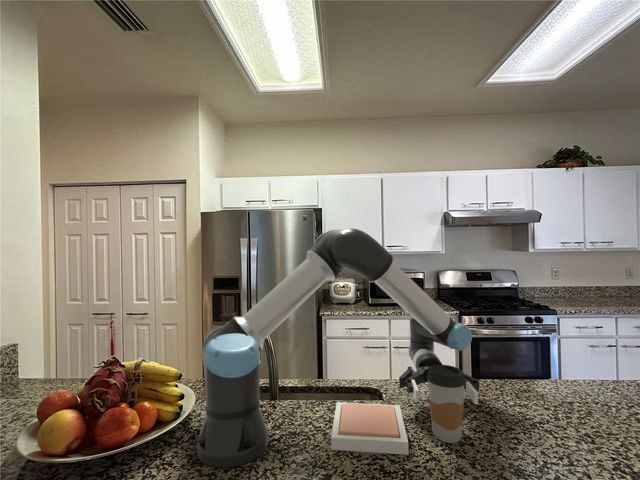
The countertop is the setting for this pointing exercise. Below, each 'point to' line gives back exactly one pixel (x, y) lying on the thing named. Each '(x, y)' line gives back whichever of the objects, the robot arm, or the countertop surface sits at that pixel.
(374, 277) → the robot arm
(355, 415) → the button
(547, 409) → the countertop surface
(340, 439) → the button housing
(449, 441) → the coffee cup
